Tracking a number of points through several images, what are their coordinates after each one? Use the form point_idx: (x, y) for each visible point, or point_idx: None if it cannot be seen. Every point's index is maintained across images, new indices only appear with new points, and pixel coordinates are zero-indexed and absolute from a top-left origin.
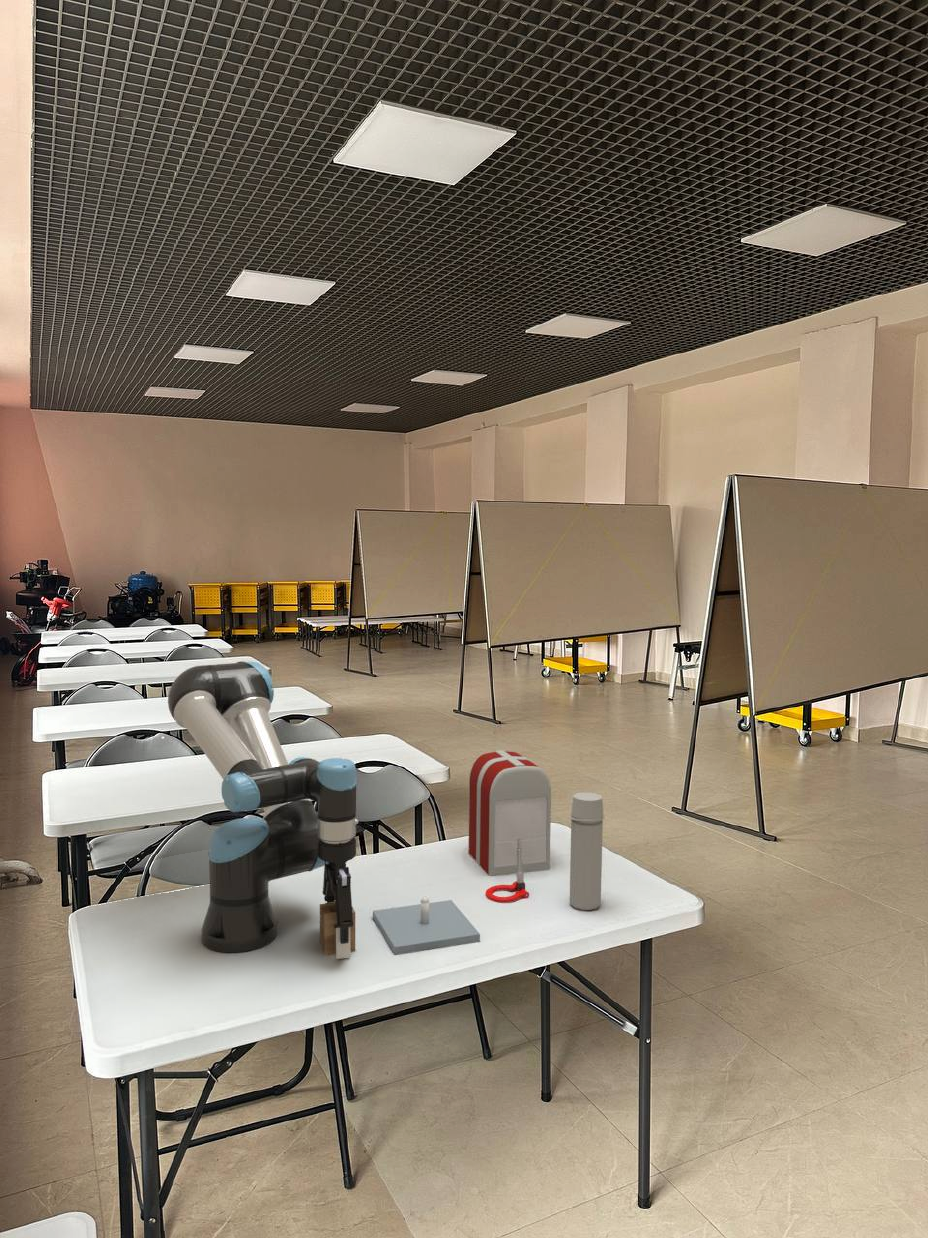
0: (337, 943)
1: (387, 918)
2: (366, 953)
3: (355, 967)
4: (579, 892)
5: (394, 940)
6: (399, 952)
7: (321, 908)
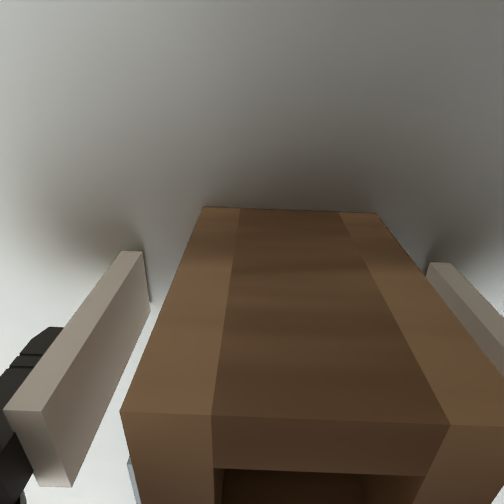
0: (83, 308)
1: None
2: None
3: (49, 304)
4: None
5: None
6: None
7: (395, 421)
